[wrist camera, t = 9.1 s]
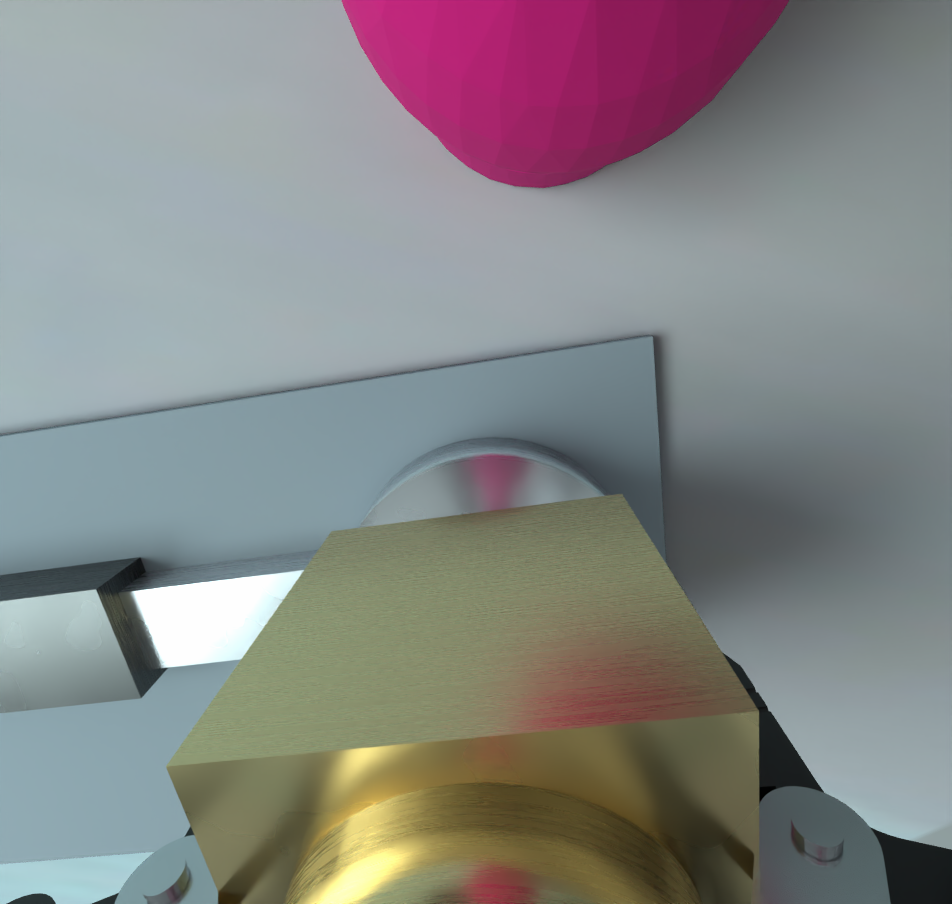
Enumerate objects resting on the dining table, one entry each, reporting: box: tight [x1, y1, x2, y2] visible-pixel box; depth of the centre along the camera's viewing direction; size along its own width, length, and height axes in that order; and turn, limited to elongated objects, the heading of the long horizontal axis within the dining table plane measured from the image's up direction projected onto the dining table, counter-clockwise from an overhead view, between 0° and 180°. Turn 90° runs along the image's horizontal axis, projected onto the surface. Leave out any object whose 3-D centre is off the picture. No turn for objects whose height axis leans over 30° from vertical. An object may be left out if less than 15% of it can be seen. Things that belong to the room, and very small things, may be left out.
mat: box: [0, 335, 666, 864], centre depth 17 cm, size 16×26×1 cm, turn 99°
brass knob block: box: [166, 494, 759, 904], centre depth 8 cm, size 6×6×8 cm
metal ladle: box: [0, 437, 609, 713], centre depth 13 cm, size 8×24×6 cm, turn 99°
